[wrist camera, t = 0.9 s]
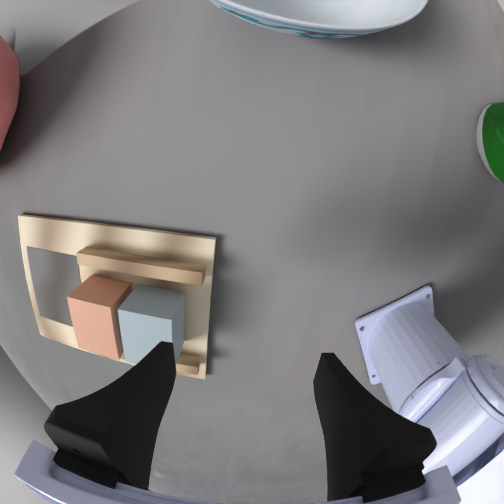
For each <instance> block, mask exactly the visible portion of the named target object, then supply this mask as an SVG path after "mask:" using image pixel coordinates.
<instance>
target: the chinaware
mask: <svg viewBox="0 0 504 504" xmlns="http://www.w3.org/2000/svg"><path fill="white" fill-rule="evenodd" d="M208 1H210V2H211V3H213V4H214V5H216V6H217V7H219V8H220V9H222V10H224V11H225V12H227V13H229V14H231V15H233V16H235V17H237V18H239V19H241V20H243V21H245V22H248V23H250V24H253V25H255V26H258V27H261V28H264V29H267V30H271V31H275V32H279V33H283V34H288V35H294V36H300V37H310V38H346V37H355V36H362V35H367V34H372V33H376V32H380V31H383V30H387V29H390V28H393V27H395V26H398V25H401V24H403V23H405V22H407V21H409V20H411V19H412V18H414V17H415V16H417V15H418V14H419V13H420V12H421V11H422V10H423V9H424V7H425V6H426V4H427V2H428V0H208Z"/></svg>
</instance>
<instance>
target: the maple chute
mask: <svg viewBox="0 0 504 504" xmlns="http://www.w3.org/2000/svg"><path fill="white" fill-rule="evenodd" d="M18 221H19V232H20V241H21V249H22V256H23V262H24V268H25V273H26V279H27V284H28V288H29V293H30V297H31V301H32V305H33V309H34V313H35V317H36V320H37V324H38V327H39V330H40V334H41V335H42V336H45V337H47V338H50V339H52V340H55V341H58V342H60V343H63V344H66V345H69V346H72V347H75V348H77V349H80V350H84V349H81V348H78V344H77V340H76V336H75V332H74V328H73V324H72V320H71V315H70V310H69V305H68V300H67V296H68V295H69V294H70V293H71V292H73V291H74V290H75V289H76V288H77V287H78V286H79V285H80V284H82V283H83V282H84V281H85V280H86V279H87V278H89V277H90V276H91V275H93V276H98V277H103V278H108V279H113V280H119V281H124V282H129V283H131V286H132V291H133V289H134V288H135V287H136V286H137V285H138V284H140V285H146V286H152V287H157V288H163V289H169V290H176V291H182V292H185V311H184V344H183V347H182V349H181V352H180V355H179V358H178V361H177V364H176V374H178V375H183V376H188V377H194V378H200V379H205V377H206V365H207V348H208V332H209V318H210V304H211V291H212V279H213V268H214V257H215V247H216V237H210V236H202V235H194V234H186V233H178V232H170V231H162V230H154V229H146V228H138V227H130V226H122V225H113V224H105V223H96V222H88V221H79V220H70V219H62V218H53V217H44V216H35V215H25V214H21V215H18ZM84 351H87V350H84ZM87 352H90V351H87ZM90 353H93V352H90ZM93 354H96V353H93ZM96 355H100V354H96ZM100 356H103V355H100ZM103 357H106V356H103ZM106 358H110V357H106ZM110 359H113V360H117V359H114V358H110ZM117 361H121V362H124V363H128V362H126V361H125V356H124V352H123V354H122V356H121V357H120V359H119V360H117ZM128 364H132V363H128ZM132 365H136V364H132Z"/></svg>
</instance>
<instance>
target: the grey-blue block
mask: <svg viewBox="0 0 504 504" xmlns="http://www.w3.org/2000/svg"><path fill="white" fill-rule="evenodd" d="M184 311H185V292H182V291H176V290H169V289H163V288H157V287H152V286H146V285H140V284H138V285H137V286H136V287H135V288H134V289H133V291H132V292H131V293H130V294H129V296H128V297H127V298H126V299H125V301H124V302H123V303H122V304H121V306H120V307H119V308H118V316H119V324H120V331H121V338H122V344H123V350H124V356H125V361H126V362H128V363H132V364H137V363H138V362H139V361H140V360H142V359H143V358H144V357H145V356H146V355H147V354H148V353H149V352H150V351H151V350H152V349H153V348H154V347H155V346H156V345H157V344H158V343H159V342H160V341H165V342H172V343H173V347H174V356H175V364H177V361H178V358H179V355H180V352H181V349H182V347H183V344H184Z"/></svg>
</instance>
